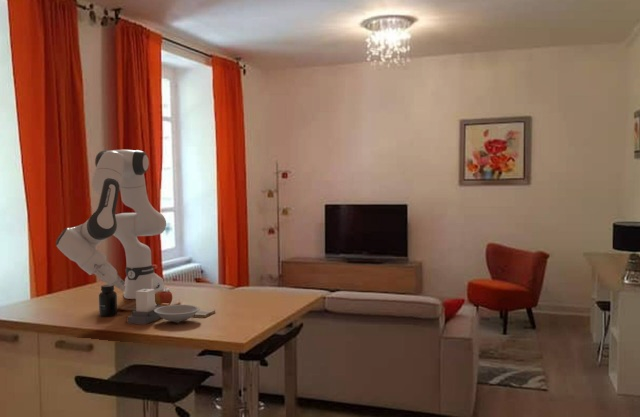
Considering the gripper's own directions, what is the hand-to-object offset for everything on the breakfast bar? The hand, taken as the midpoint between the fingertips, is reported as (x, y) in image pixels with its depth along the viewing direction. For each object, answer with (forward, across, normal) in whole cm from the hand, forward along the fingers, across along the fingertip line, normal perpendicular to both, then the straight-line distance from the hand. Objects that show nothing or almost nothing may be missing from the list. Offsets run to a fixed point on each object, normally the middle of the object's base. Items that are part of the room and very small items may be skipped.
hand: (124, 286), depth 206 cm
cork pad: (+30, -1, -10) cm, 31 cm away
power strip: (+18, +6, +1) cm, 19 cm away
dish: (+23, -9, -3) cm, 25 cm away
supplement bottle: (+5, +15, +14) cm, 21 cm away
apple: (+21, +18, -1) cm, 27 cm away
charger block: (+13, 0, +2) cm, 13 cm away
